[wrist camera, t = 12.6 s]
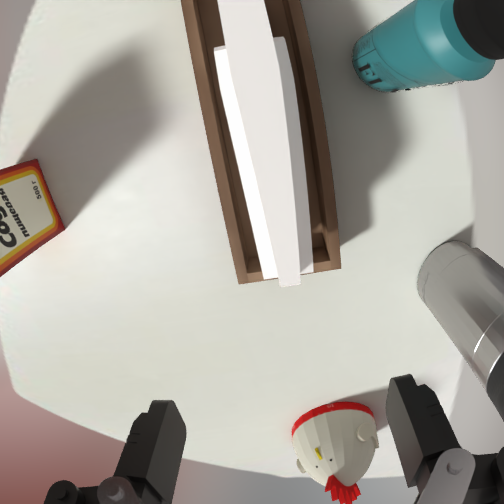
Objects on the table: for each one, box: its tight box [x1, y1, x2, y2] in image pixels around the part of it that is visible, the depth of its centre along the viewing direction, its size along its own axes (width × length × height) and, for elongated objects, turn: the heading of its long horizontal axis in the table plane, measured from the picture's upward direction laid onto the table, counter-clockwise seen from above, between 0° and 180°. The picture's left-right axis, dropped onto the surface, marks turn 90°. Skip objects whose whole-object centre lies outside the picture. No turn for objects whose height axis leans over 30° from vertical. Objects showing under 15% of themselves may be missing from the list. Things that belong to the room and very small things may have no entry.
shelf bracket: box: [214, 0, 314, 287], centre depth 26 cm, size 6×25×13 cm, turn 10°
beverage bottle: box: [352, 0, 504, 93], centre depth 17 cm, size 6×7×20 cm
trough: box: [181, 0, 341, 284], centre depth 27 cm, size 10×34×4 cm, turn 10°
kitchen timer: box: [292, 402, 379, 504], centre depth 40 cm, size 14×14×15 cm
